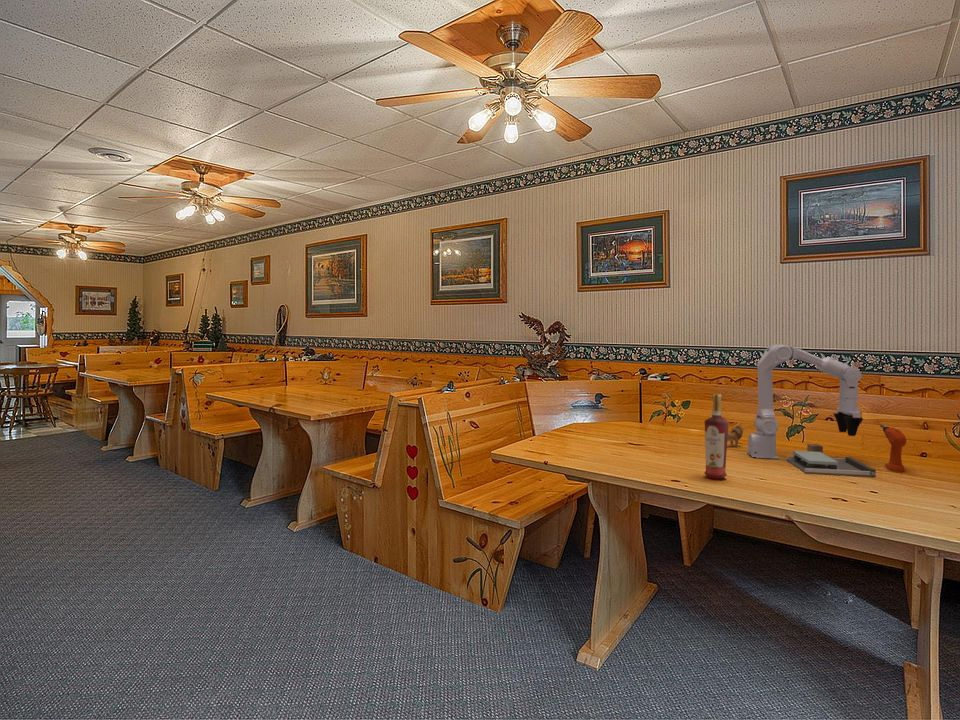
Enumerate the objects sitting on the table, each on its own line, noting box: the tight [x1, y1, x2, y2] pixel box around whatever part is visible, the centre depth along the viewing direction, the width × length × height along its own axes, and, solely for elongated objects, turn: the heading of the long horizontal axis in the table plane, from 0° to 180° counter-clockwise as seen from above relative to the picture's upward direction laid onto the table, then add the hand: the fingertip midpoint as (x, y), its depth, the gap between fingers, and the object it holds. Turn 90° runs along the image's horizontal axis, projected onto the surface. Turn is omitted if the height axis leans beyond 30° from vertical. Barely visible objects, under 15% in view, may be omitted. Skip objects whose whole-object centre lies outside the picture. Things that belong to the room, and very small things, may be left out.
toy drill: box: [879, 424, 907, 473], centre depth 189 cm, size 5×19×15 cm, turn 161°
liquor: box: [703, 393, 730, 480], centre depth 174 cm, size 7×7×28 cm
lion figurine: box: [727, 424, 744, 448], centre depth 222 cm, size 15×5×9 cm, turn 110°
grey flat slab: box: [792, 450, 838, 470], centre depth 187 cm, size 9×16×3 cm, turn 166°
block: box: [806, 443, 824, 454], centre depth 203 cm, size 4×4×5 cm
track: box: [786, 455, 877, 478], centre depth 186 cm, size 21×19×2 cm
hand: (847, 433), depth 198 cm, fingers open, 7 cm apart
